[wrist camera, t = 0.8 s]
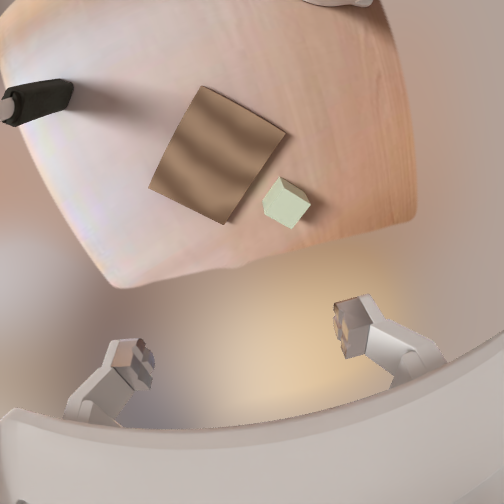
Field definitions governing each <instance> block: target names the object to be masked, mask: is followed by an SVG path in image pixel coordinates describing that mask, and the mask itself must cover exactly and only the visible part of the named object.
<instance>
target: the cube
mask: <svg viewBox="0 0 504 504" xmlns="http://www.w3.org/2000/svg"><path fill="white" fill-rule="evenodd" d="M262 202H263V208H264V213H265V215H267V216H269V217H271V218H272V219H274V220H276V221H278V222H280V223H281V224H283V225H285V226H287V227H288V228H290V229H292V228H293V227H294V225H295V224H296V223H297V222H298V220H299V219H300V218H301V217H302V215H303V214H304V213H305V212H306V210H307V209H308V208H309V206H310V205H311V204H310V202H309V200H308V198H307V196H306V194H305V193H304V192H303V191H302V190H300V189H299V188H297V187H296V186H294V185H292V184H291V183H289V182H288V181H286V180H284V179H283V178H281V177H279V178H278V179H277V181H276V182H275V183H274V185H273V186H272V188H271V189H270V190H269V192H268V193H267V195H266V196H265V197H264V199H263V200H262Z"/></svg>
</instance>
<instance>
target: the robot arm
mask: <svg viewBox="0 0 504 504" xmlns="http://www.w3.org/2000/svg"><path fill="white" fill-rule="evenodd" d="M303 1H306V2H309V3H312V4H316V5H322V6H340V5H347V4H351V5H355V6H360V7H368V6H369V5H371V3H372V1H373V0H303ZM333 310H334V312H335V316H334V318H333V322H334V329H335V333H336V336H337V339H339V340H340V341H341V349H342V351H343V354H344V356H345V359H348V358H352V357H355V356H359V355H363V354H365V355H366V356H367V357H369V358H370V359H371V360H373V361H374V362H375V363H377V364H378V365H379V366H381V367H382V368H384V369H385V370H386V371H388V372H389V373H391V374H392V375H393V376H394V379H393V381H392V383H391V386H390V388H389V390H386V391H383V392H380V393H378V394H375V395H372V396H369V397H366V398H363V399H360V400H357V401H354V402H350V403H347V404H344V405H340V406H337V407H333V408H329V409H325V410H321V411H318V412H313V413H309V414H305V415H300V416H295V417H290V418H285V419H280V420H274V421H268V422H262V423H254V424H247V425H239V426H229V427H218V428H203V429H138V428H124V427H122V426H121V425H120V424H119V423H117V422H116V421H115V418H116V417H117V416H118V414H119V413H120V412H121V410H122V409H123V407H124V406H125V405H126V403H127V402H128V400H129V399H130V398H131V396H132V395H133V393H134V391H140V390H150V389H151V384H152V376H151V373H152V372H153V370H154V367H155V360H154V356H153V354H152V352H151V351H150V350H149V349H147V348H146V347H145V345H146V343H145V342H144V340H143V339H141V338H136V339H121V340H112V341H111V342H110V344H109V347H108V350H107V353H106V355H105V358H104V361H103V364H102V367H101V368H98V369H97V370H96V371H95V372H94V373H93V374H92V375H91V376H90V377H89V378H88V379H87V380H86V381H85V382H84V383H83V384H82V385H81V386H80V387H79V388H78V389H77V390H76V391H75V392H74V393H73V394H72V395H71V396H70V397H69V399H68V402H67V406H66V409H65V412H64V415H63V419H61V418H57V417H52V416H48V415H44V414H40V413H36V412H32V411H28V410H25V409H22V408H18V407H15V408H13V409H12V410H10V411H9V412H8V413H7V414H6V415H5V416H4V417H3V418H1V419H0V504H504V330H503V331H501V332H499V333H498V334H497V335H495V336H494V337H492V338H490V339H489V340H487V341H486V342H484V343H482V344H481V345H479V346H477V347H476V348H474V349H472V350H471V351H469V352H467V353H465V354H464V355H462V356H460V357H459V358H456V359H455V360H453V361H451V362H449V363H447V361H446V360H445V358H444V357H443V355H442V353H441V352H440V350H439V348H438V347H437V345H436V344H435V342H434V341H433V340H431V339H428V338H427V337H425V336H422V335H421V334H419V333H416V332H415V331H412V330H410V329H408V328H406V327H404V326H402V325H400V324H398V323H396V322H394V321H392V320H390V319H387V320H386V319H385V318H384V316H383V314H382V313H381V311H380V309H379V308H378V307H377V305H376V303H375V301H374V300H373V298H372V297H371V295H370V294H365V295H361V296H358V297H355V298H351V299H347V300H344V301H340V302H336V303H334V309H333Z"/></svg>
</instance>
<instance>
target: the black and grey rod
mask: <svg viewBox="0 0 504 504" xmlns="http://www.w3.org/2000/svg"><path fill="white" fill-rule="evenodd" d="M73 88H74V87H73V84H72V83H71V82H70V83H67V82H65V81H62V80H61V79H52V80H45V81H39V82H33V83H28V84H23V85H18V86H14V87H10V88H8V89H7V90H6V91H5V94H4V96H3V98H2V100H0V121H2V122H3V123H6V124H8V125H11V126H13V127H16V126H19V125H21V124H24V123H27V122H29V121H32V120H35V119H37V118H40V117H43V116H46V115H49V114H52V113H55V112H58V111H62V110H64V109H66V108H67V106H68V103H69V100H70V97H71V95H72V92H73Z"/></svg>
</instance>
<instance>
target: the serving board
mask: <svg viewBox="0 0 504 504" xmlns="http://www.w3.org/2000/svg"><path fill="white" fill-rule="evenodd" d="M285 134H286V133H285V132H284V131H282V130H281V129H279V128H278V127H276V126H274V125H273V124H271V123H269V122H268V121H266V120H264V119H263V118H261V117H259V116H258V115H256V114H254V113H253V112H251V111H249V110H247V109H246V108H244V107H242V106H240V105H238V104H237V103H235V102H233V101H231V100H229V99H227V98H226V97H224V96H222V95H220V94H218V93H216V92H214V91H212V90H210V89H208V88H206V87H204V86H201V87H200V89H199V90H198V92H197V94H196V95H195V97H194V99H193V100H192V102H191V104H190V105H189V107H188V109H187V111H186V112H185V114H184V116H183V118H182V120H181V122H180V123H179V125H178V127H177V129H176V131H175V133H174V135H173V137H172V139H171V141H170V142H169V144H168V146H167V148H166V150H165V152H164V155H163V157H162V159H161V161H160V163H159V165H158V167H157V169H156V171H155V174H154V176H153V178H152V180H151V183H150V185H149V187H148V188H149V189H151V190H153V191H155V192H158V193H160V194H162V195H164V196H166V197H168V198H170V199H172V200H174V201H176V202H178V203H180V204H182V205H184V206H186V207H188V208H190V209H192V210H194V211H196V212H198V213H200V214H202V215H204V216H206V217H208V218H210V219H212V220H214V221H216V222H218V223H220V224H222V225H224V224H225V223H226V221H227V220H228V218H229V216H230V215H231V213H232V212H233V210H234V209H235V207H236V206H237V204H238V203H239V201H240V200H241V198H242V197H243V195H244V194H245V192H246V191H247V189H248V188H249V186H250V185H251V183H252V182H253V180H254V179H255V177H256V176H257V174H258V173H259V171H260V170H261V168H262V167H263V166H264V164H265V163H266V161H267V160H268V158H269V157H270V155H271V154H272V152H273V151H274V150H275V148H276V147H277V145H278V144H279V142H280V141H281V140H282V138H283V137H284V135H285Z"/></svg>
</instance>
